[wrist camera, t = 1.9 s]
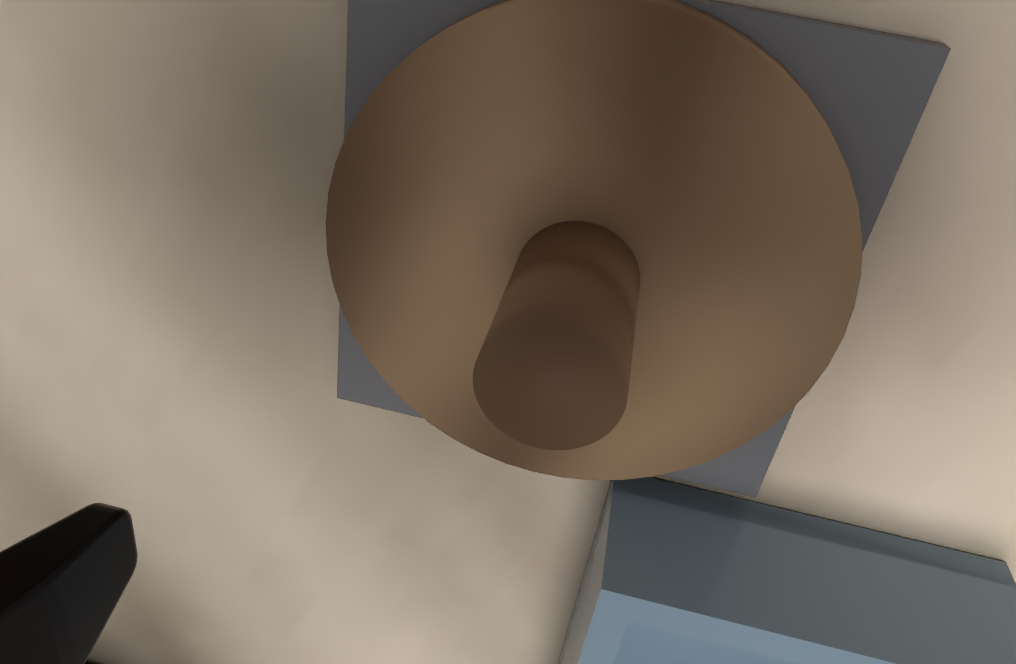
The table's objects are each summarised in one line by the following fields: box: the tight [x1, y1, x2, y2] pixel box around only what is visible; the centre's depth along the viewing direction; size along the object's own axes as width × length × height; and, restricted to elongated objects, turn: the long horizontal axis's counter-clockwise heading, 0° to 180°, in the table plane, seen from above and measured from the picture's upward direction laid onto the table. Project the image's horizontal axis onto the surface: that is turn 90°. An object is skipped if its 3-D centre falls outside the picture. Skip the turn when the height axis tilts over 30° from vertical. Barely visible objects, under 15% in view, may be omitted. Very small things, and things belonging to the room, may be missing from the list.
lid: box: [326, 0, 862, 480], centre depth 15 cm, size 11×11×5 cm
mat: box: [337, 0, 951, 497], centre depth 17 cm, size 11×11×1 cm
